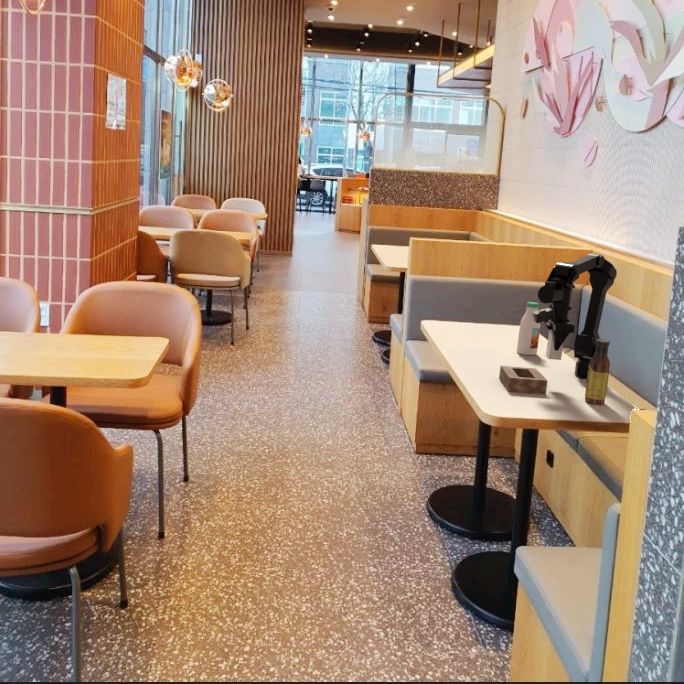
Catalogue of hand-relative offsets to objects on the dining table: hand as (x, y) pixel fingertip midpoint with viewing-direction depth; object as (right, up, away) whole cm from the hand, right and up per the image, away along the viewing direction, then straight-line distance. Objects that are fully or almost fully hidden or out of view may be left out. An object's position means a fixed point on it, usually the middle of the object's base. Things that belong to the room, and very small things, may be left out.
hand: (554, 349), depth 275 cm
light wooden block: (0, -3, +1) cm, 3 cm away
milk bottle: (+2, -2, +50) cm, 51 cm away
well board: (-11, -12, -2) cm, 17 cm away
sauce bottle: (+9, -17, -14) cm, 23 cm away
